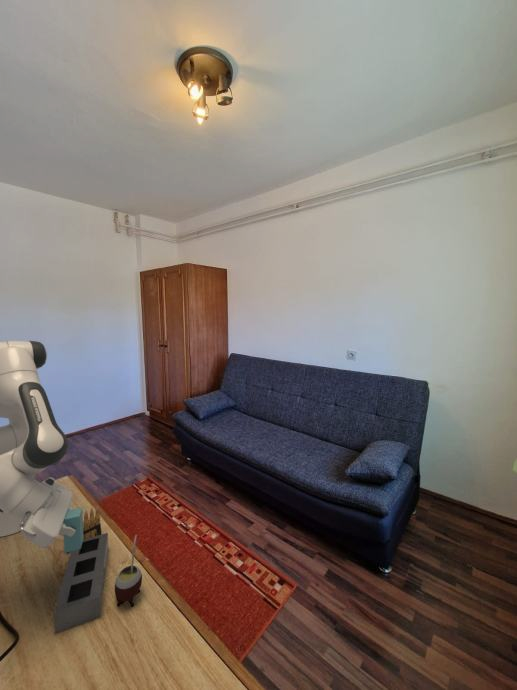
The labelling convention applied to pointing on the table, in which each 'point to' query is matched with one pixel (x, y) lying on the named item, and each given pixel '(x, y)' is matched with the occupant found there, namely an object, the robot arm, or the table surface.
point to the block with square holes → (82, 584)
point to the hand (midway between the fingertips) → (76, 525)
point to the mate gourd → (128, 582)
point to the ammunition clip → (91, 524)
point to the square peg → (76, 520)
